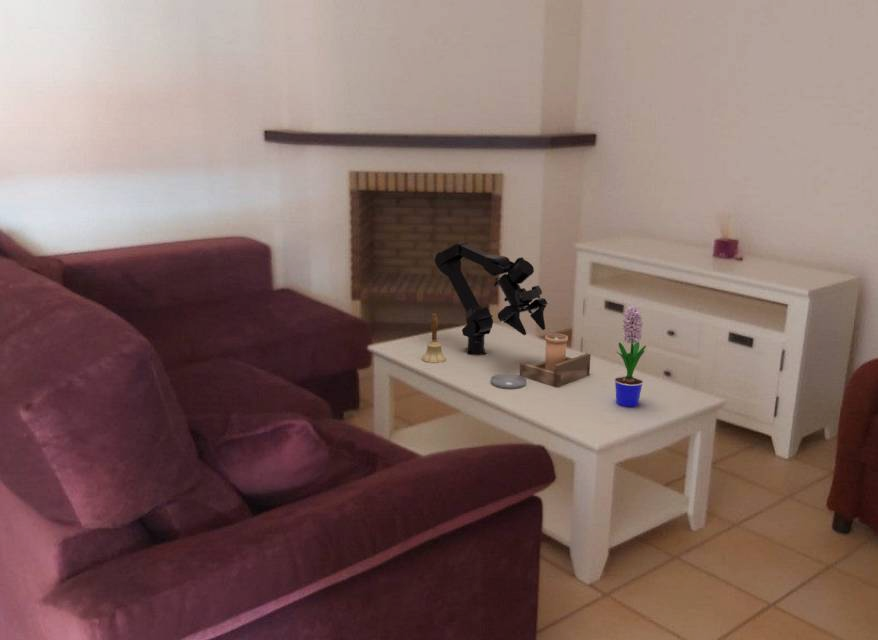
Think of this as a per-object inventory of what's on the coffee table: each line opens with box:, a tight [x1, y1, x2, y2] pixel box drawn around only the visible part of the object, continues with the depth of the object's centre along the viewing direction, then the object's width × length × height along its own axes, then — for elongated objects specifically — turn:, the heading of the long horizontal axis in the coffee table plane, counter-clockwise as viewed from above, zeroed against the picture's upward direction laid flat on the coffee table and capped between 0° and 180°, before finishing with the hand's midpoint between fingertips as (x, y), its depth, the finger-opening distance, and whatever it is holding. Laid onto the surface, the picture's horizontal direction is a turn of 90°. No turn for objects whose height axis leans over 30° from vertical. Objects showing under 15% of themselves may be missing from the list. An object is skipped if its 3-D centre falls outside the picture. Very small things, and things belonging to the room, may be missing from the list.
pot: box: [544, 332, 569, 372], centre depth 272 cm, size 7×7×13 cm
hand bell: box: [421, 313, 447, 364], centre depth 286 cm, size 8×8×16 cm
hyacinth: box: [614, 305, 647, 408], centre depth 247 cm, size 9×10×30 cm
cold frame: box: [519, 352, 591, 388], centre depth 273 cm, size 15×17×7 cm
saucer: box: [490, 373, 527, 390], centre depth 266 cm, size 11×11×1 cm
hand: (534, 332), depth 275 cm, fingers open, 9 cm apart
